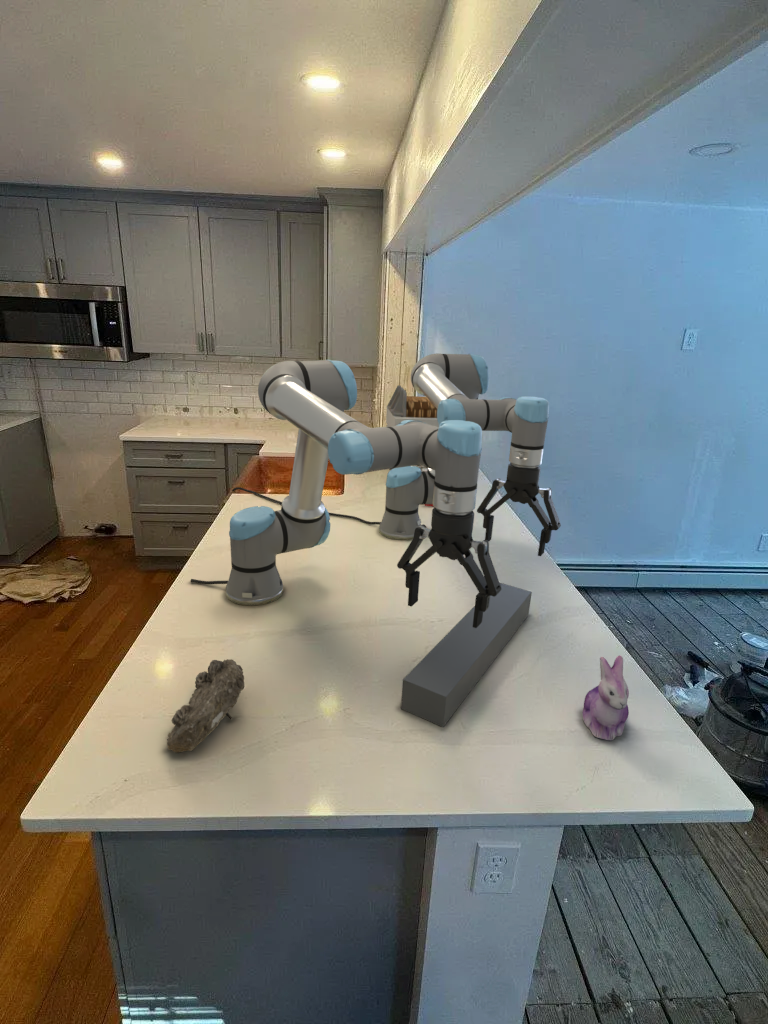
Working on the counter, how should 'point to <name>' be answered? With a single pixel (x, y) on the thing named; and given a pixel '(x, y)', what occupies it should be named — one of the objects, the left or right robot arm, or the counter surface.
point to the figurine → (607, 702)
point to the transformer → (410, 409)
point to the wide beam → (463, 657)
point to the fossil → (206, 705)
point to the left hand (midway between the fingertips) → (444, 613)
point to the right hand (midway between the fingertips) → (513, 547)
